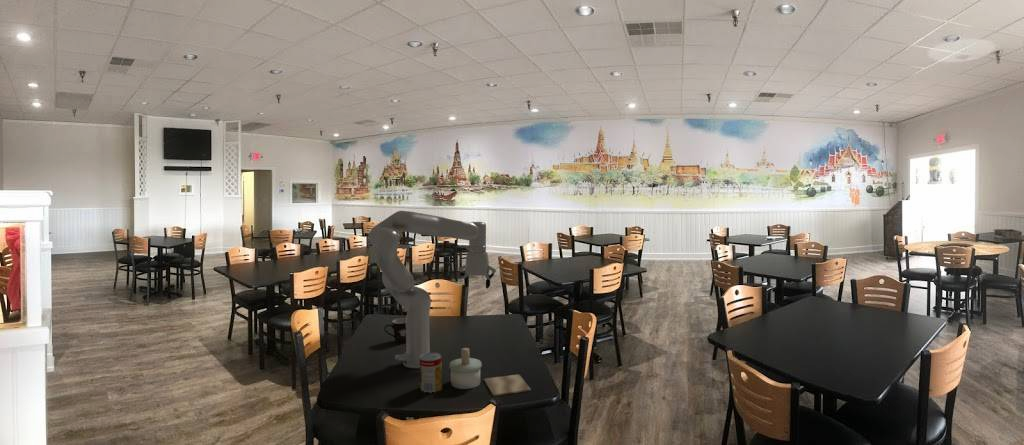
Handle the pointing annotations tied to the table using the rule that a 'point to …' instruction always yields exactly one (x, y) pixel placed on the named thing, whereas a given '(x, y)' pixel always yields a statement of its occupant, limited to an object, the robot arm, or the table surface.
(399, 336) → the coffee mug
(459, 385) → the bowl
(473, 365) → the lid
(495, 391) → the mat
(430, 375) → the canned food
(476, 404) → the table surface
